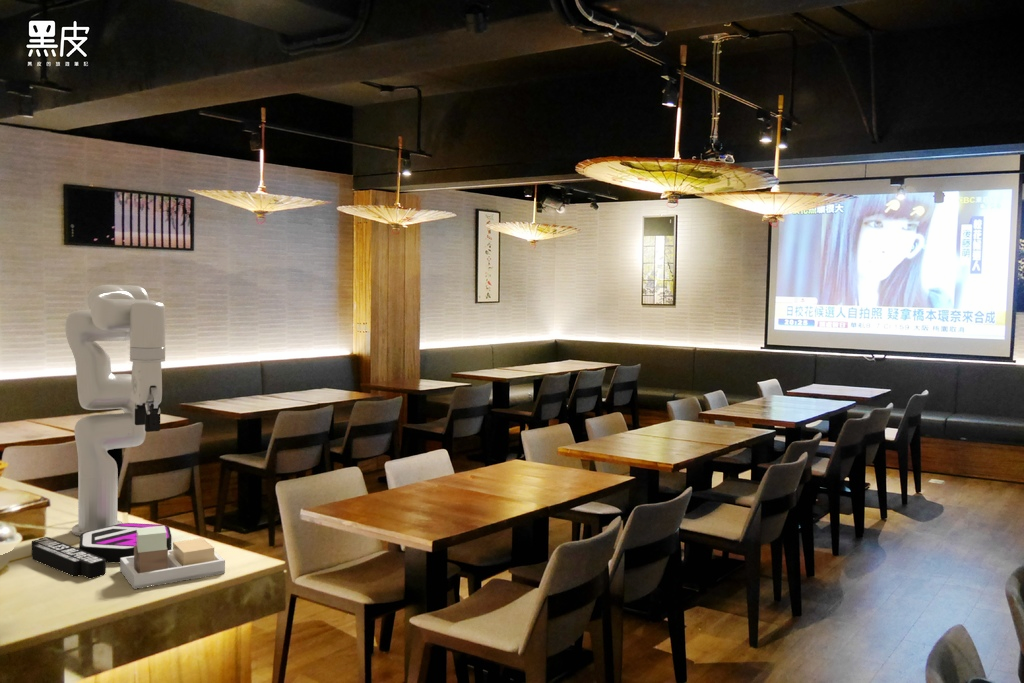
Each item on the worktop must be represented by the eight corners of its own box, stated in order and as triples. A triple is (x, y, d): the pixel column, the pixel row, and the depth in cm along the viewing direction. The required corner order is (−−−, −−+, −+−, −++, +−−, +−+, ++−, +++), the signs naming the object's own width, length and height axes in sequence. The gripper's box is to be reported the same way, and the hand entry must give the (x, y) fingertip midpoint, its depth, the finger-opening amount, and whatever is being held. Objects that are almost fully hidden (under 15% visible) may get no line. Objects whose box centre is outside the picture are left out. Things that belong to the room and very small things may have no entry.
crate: (120, 571, 195) (120, 547, 195) (206, 556, 207) (206, 534, 207) (134, 589, 184) (134, 564, 184) (224, 573, 196) (225, 549, 196)
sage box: (136, 544, 194) (136, 528, 194) (164, 542, 197) (164, 525, 196) (138, 552, 188) (138, 535, 188) (166, 549, 191) (166, 532, 191)
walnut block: (133, 570, 194) (134, 545, 193) (161, 566, 197) (161, 541, 197) (140, 578, 189) (140, 552, 189) (167, 573, 193) (167, 548, 192)
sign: (83, 582, 189) (198, 550, 214) (83, 566, 188) (198, 535, 213) (23, 557, 204) (136, 530, 229) (23, 542, 203) (136, 516, 228)
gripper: (121, 352, 197) (121, 423, 198) (139, 358, 183) (139, 435, 184) (155, 351, 201) (154, 421, 202) (174, 357, 188) (174, 432, 189)
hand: (147, 427), depth 193 cm, fingers open, 9 cm apart
